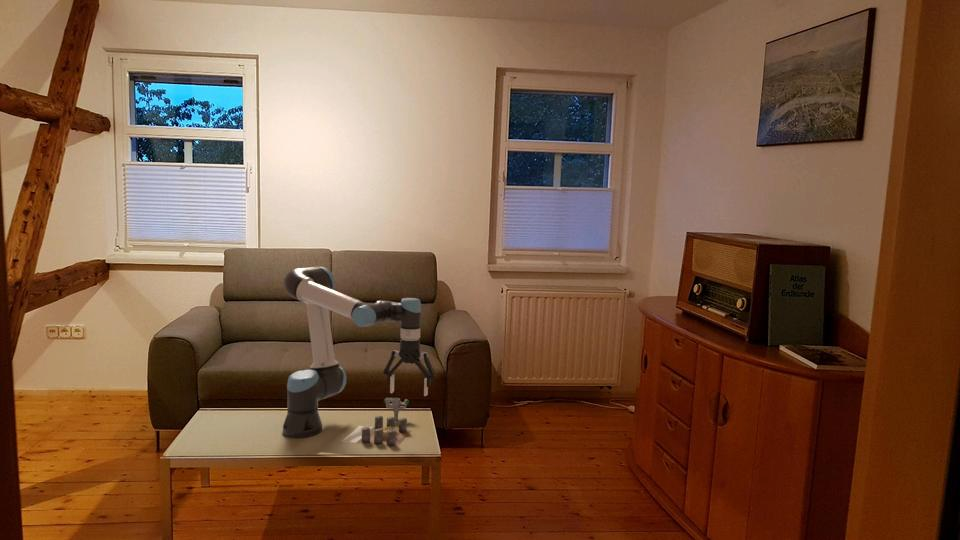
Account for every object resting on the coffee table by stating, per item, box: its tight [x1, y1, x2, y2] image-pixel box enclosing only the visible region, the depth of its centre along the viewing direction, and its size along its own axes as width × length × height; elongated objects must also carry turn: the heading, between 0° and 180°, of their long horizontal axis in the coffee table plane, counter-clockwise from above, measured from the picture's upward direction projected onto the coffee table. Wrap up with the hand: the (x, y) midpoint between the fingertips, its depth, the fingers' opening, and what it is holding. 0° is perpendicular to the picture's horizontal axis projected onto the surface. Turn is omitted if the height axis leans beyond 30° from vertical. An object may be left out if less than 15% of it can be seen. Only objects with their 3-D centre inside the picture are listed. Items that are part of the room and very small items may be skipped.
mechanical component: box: [383, 397, 410, 422], centre depth 255 cm, size 3×10×10 cm, turn 89°
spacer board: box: [341, 415, 412, 448], centre depth 236 cm, size 22×18×6 cm
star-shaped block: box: [379, 426, 396, 440], centre depth 235 cm, size 7×7×3 cm
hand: (408, 393), depth 233 cm, fingers open, 13 cm apart
